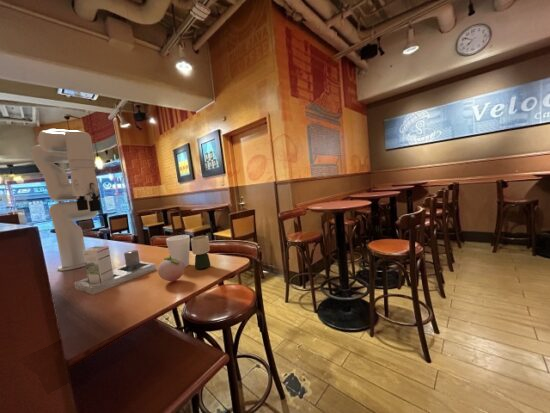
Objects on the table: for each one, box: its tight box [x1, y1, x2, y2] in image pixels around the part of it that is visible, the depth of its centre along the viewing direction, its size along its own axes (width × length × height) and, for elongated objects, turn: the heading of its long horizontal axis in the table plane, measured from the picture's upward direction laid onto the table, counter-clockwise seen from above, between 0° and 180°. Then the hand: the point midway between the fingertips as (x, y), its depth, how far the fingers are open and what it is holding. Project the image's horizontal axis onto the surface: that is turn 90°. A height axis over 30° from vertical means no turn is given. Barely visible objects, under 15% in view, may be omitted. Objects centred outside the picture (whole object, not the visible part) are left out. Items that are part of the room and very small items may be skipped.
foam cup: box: [165, 234, 191, 268], centre depth 99 cm, size 10×9×13 cm
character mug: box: [190, 235, 211, 270], centre depth 96 cm, size 11×7×13 cm, turn 55°
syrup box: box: [83, 245, 114, 285], centre depth 86 cm, size 6×6×14 cm
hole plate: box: [73, 249, 157, 295], centre depth 91 cm, size 13×24×9 cm, turn 152°
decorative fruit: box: [157, 255, 185, 283], centre depth 83 cm, size 9×8×10 cm
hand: (89, 210), depth 88 cm, fingers open, 9 cm apart
